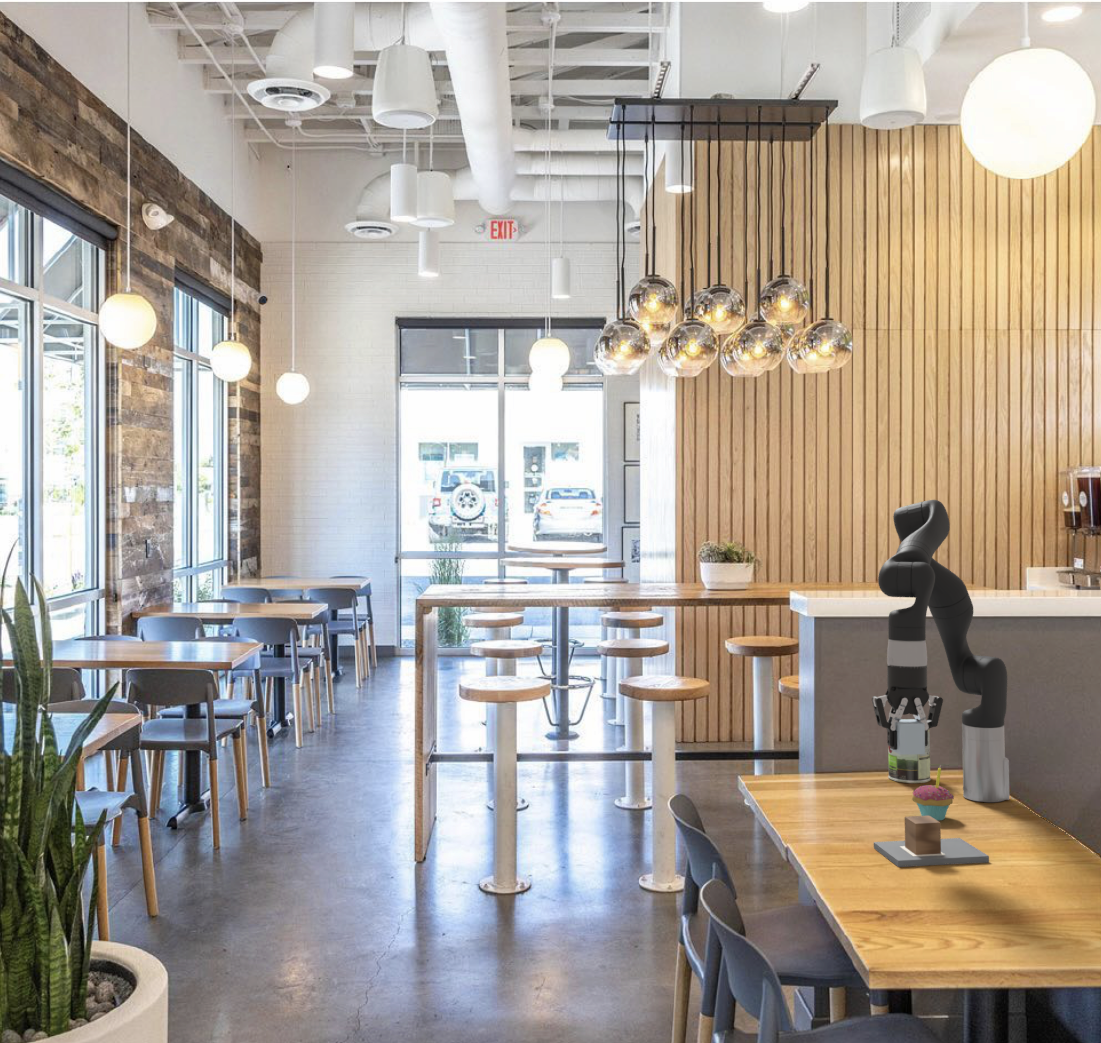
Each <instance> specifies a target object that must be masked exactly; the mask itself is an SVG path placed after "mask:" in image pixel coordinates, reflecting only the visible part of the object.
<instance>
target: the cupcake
mask: <svg viewBox="0 0 1101 1043" xmlns="http://www.w3.org/2000/svg"><path fill="white" fill-rule="evenodd" d="M941 767H942V764H940V765H939V767H938V768H937V774H936V780H935V781H936V782H935V784H934V785H933V784H930V785H929V784H926V785H925V784H924V785H920V786H918V787H917V788H915V789H914V790H913V792H912V798H911V801H913V802H914V803H916V806H917V807H918V809H919V813H920V816H931V817H932V818H934V819H935V820H937V821H939V822H940V821H944V820H945V818H946V815H947V813H948V809H949V807H950V806H951V805H952V804H953V800H954V795H953V794H952V793H951V791H949V790H948V789H947V788H945V787H944V786H941V785H940V782H941V781H940V780H941V773H942V768H941Z"/></svg>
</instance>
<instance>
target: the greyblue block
mask: <svg viewBox="0 0 1101 1043" xmlns="http://www.w3.org/2000/svg"><path fill="white" fill-rule="evenodd" d="M896 731H897V750H893V749H891V748H890V750H892V751H894V752H896V753H898V754H900V755H907V754H925V723H922V722H920V721H916V719H915V718H914V719H913V718H910V719H909V718H908V719H905V718H904V719H903V718H901V720H900V721H899V723H897V728H896Z"/></svg>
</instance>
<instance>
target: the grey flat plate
mask: <svg viewBox="0 0 1101 1043" xmlns="http://www.w3.org/2000/svg"><path fill="white" fill-rule="evenodd" d="M873 849H874V850H876V851H877V852H878V853H879V854H880V855H881V856H883V857H885V858H886V859H887V860H888V861H890V862H891V863H893V865H895V866H897V867H898V868H903V867H904V868H905V867H906V868H907V867H921V866H922V867H924V866H942V865H944V866H945V865H961V864H962V865H963V864H965V865H966V864H982V863H983V864H984V863H985V864H986V863H990V856H989V855H988V854H986V853H985V852H984V851H982V850H980V849H978V848H977V847H975V846H973V845H972V844H970V843H969V842H967V841H965V840H964V839H963V838H960V837H950V838H941V854H922V855H916V854H914V853H913V852H911V851H910V850H909V849H907V848H906V847H905V840H892V841H891V840H886V841H873Z"/></svg>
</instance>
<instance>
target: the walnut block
mask: <svg viewBox="0 0 1101 1043" xmlns="http://www.w3.org/2000/svg"><path fill="white" fill-rule="evenodd" d="M941 834H942V833H941V821H940V820H939V821H937V820H935V819H934V818H932V817H931V816H921V815H914V816H913V815H912V816H911V815H910V816H904V841H905V847H906V848H907V849H909V850H910V851H911V852H913V853H914V854H916V855H922V854H941V839H942V836H941Z"/></svg>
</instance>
